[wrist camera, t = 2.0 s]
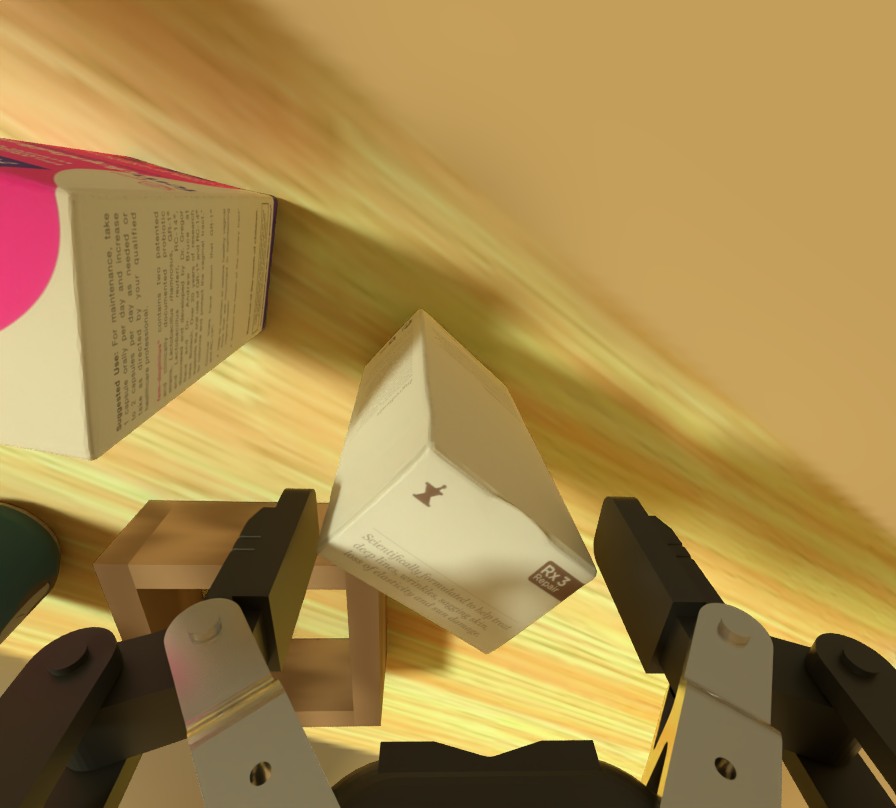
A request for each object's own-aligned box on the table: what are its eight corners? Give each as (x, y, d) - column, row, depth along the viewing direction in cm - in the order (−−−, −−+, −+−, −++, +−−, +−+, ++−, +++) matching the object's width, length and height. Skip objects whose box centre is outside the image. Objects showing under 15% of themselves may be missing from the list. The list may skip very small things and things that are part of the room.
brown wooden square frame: (194, 654, 29) (157, 729, 25) (149, 500, 24) (92, 564, 20) (386, 653, 30) (380, 726, 26) (385, 504, 25) (377, 566, 21)
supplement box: (280, 190, 18) (79, 194, 7) (267, 330, 20) (101, 479, 10) (124, 147, 17) (-350, 81, 7) (129, 299, 19) (-210, 425, 9)
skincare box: (360, 369, 21) (291, 561, 10) (424, 299, 20) (422, 436, 9) (453, 443, 23) (478, 670, 12) (517, 385, 22) (607, 581, 11)
